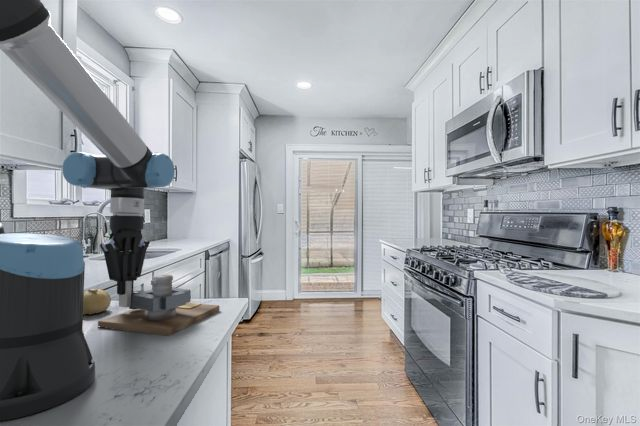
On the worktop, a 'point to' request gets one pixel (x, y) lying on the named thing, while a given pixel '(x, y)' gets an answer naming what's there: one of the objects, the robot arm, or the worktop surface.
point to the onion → (95, 301)
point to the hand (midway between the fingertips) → (124, 306)
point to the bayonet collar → (159, 300)
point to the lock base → (158, 326)
